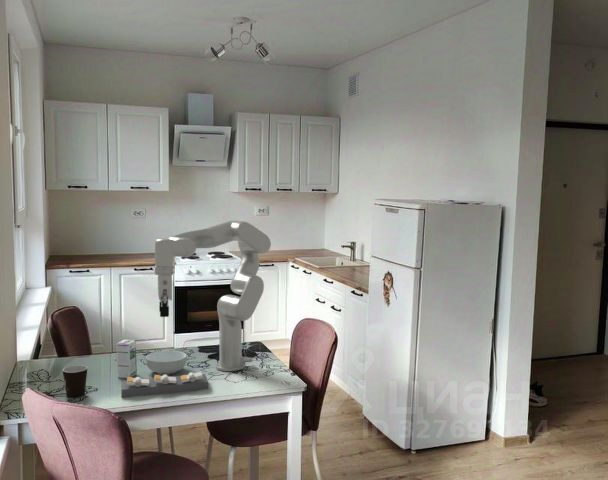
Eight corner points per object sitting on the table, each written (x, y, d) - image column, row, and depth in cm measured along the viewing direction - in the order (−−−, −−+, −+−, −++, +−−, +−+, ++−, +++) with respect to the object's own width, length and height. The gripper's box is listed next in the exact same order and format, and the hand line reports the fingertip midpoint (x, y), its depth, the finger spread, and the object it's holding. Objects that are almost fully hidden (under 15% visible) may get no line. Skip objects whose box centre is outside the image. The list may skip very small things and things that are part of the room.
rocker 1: (148, 383, 218) (149, 377, 218) (148, 387, 214) (149, 381, 214) (126, 382, 215) (127, 375, 215) (126, 385, 211) (127, 379, 211)
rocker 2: (201, 375, 224) (200, 369, 223) (203, 379, 220) (202, 373, 219) (181, 380, 222) (180, 374, 221) (182, 384, 217) (181, 378, 217)
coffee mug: (84, 398, 209) (83, 372, 208) (59, 399, 208) (59, 372, 207) (93, 387, 220) (92, 362, 219) (70, 388, 219) (69, 362, 219)
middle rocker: (174, 381, 221) (175, 375, 221) (175, 385, 217) (176, 379, 217) (153, 379, 218) (154, 373, 218) (154, 383, 214) (155, 377, 214)
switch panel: (205, 381, 229) (204, 373, 229) (208, 389, 220) (208, 381, 219) (121, 388, 220) (121, 380, 219) (121, 397, 210) (121, 388, 210)
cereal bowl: (172, 380, 230) (172, 363, 229) (137, 375, 235) (137, 358, 235) (194, 368, 245) (194, 352, 245) (161, 363, 251) (161, 348, 250)
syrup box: (130, 378, 231) (129, 343, 230) (116, 377, 232) (116, 342, 231) (136, 374, 237) (136, 340, 236) (123, 373, 238) (123, 339, 237)
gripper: (175, 273, 213) (175, 318, 214) (173, 267, 230) (172, 309, 231) (155, 273, 211) (154, 319, 212) (154, 267, 228) (153, 310, 229)
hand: (163, 314), depth 222 cm, fingers open, 9 cm apart
